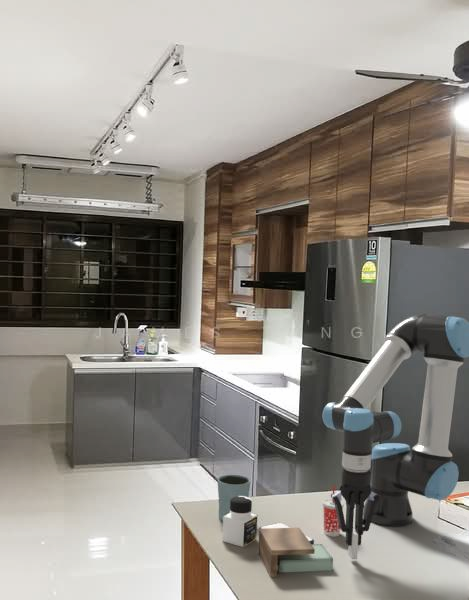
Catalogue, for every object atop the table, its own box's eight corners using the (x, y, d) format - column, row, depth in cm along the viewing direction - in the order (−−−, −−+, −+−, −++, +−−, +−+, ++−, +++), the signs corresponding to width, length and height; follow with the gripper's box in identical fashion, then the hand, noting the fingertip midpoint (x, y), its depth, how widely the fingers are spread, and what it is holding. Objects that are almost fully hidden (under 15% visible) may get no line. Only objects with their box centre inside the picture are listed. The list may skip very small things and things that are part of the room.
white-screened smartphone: (257, 532, 191) (290, 551, 178) (257, 526, 191) (291, 545, 178) (281, 527, 196) (316, 545, 183) (281, 521, 196) (316, 540, 183)
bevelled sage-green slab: (321, 555, 176) (322, 544, 176) (332, 570, 167) (333, 558, 167) (270, 557, 173) (271, 545, 173) (279, 572, 164) (279, 560, 164)
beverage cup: (333, 528, 196) (336, 481, 195) (346, 535, 190) (348, 487, 190) (317, 531, 193) (319, 483, 192) (329, 538, 187) (331, 490, 187)
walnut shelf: (298, 552, 177) (299, 527, 177) (313, 575, 163) (314, 549, 163) (258, 553, 175) (259, 528, 175) (270, 577, 161) (271, 550, 161)
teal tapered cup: (226, 526, 193) (227, 486, 193) (209, 515, 202) (211, 476, 202) (255, 521, 199) (256, 482, 198) (238, 510, 207) (239, 472, 207)
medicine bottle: (243, 547, 179) (245, 504, 178) (221, 541, 182) (223, 498, 182) (256, 539, 185) (258, 497, 184) (235, 533, 188) (237, 492, 188)
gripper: (337, 473, 167) (333, 564, 168) (385, 472, 169) (381, 562, 170) (328, 464, 174) (324, 551, 175) (374, 463, 177) (370, 550, 178)
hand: (352, 556), depth 173 cm, fingers closed
